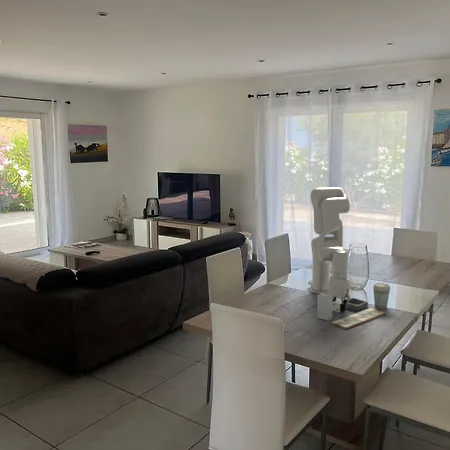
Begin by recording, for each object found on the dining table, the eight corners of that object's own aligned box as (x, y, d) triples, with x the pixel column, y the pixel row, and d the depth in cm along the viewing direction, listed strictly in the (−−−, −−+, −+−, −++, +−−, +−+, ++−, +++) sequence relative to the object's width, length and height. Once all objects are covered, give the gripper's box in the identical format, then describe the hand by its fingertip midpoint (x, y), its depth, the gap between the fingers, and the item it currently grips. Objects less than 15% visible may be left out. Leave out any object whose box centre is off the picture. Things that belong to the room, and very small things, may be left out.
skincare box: (332, 318, 220) (333, 294, 218) (327, 321, 217) (328, 297, 215) (321, 315, 224) (321, 292, 222) (316, 318, 221) (317, 294, 219)
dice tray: (342, 306, 236) (342, 301, 235) (353, 303, 241) (353, 297, 241) (356, 311, 229) (356, 305, 228) (367, 307, 234) (367, 302, 234)
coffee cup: (378, 311, 229) (379, 288, 227) (368, 305, 237) (369, 283, 235) (393, 309, 231) (394, 286, 229) (383, 303, 239) (384, 281, 237)
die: (331, 310, 232) (332, 301, 231) (337, 308, 234) (337, 299, 233) (339, 312, 228) (339, 303, 227) (344, 310, 231) (345, 301, 230)
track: (330, 323, 214) (330, 321, 213) (370, 309, 231) (370, 307, 231) (346, 329, 206) (346, 327, 206) (385, 314, 224) (385, 312, 224)
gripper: (321, 272, 232) (320, 306, 236) (348, 279, 219) (347, 315, 222) (331, 270, 237) (330, 303, 240) (358, 277, 223) (356, 312, 227)
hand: (338, 309), depth 231 cm, fingers closed on die, 4 cm apart
